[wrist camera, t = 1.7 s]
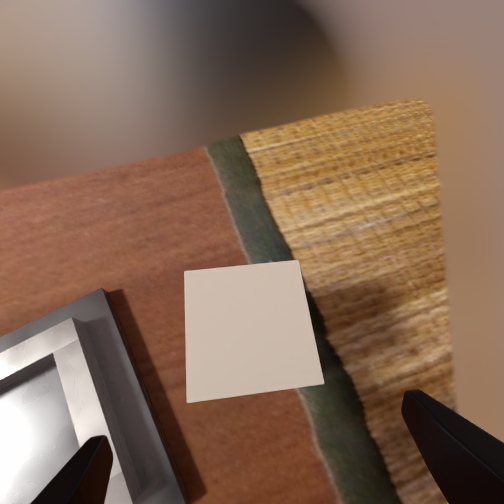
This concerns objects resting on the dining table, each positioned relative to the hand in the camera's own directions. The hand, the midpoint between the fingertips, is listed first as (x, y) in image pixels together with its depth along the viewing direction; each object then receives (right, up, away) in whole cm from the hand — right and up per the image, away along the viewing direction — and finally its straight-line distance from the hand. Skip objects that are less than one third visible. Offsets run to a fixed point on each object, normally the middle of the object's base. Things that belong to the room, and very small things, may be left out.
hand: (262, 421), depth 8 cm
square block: (-1, -2, +11) cm, 11 cm away
